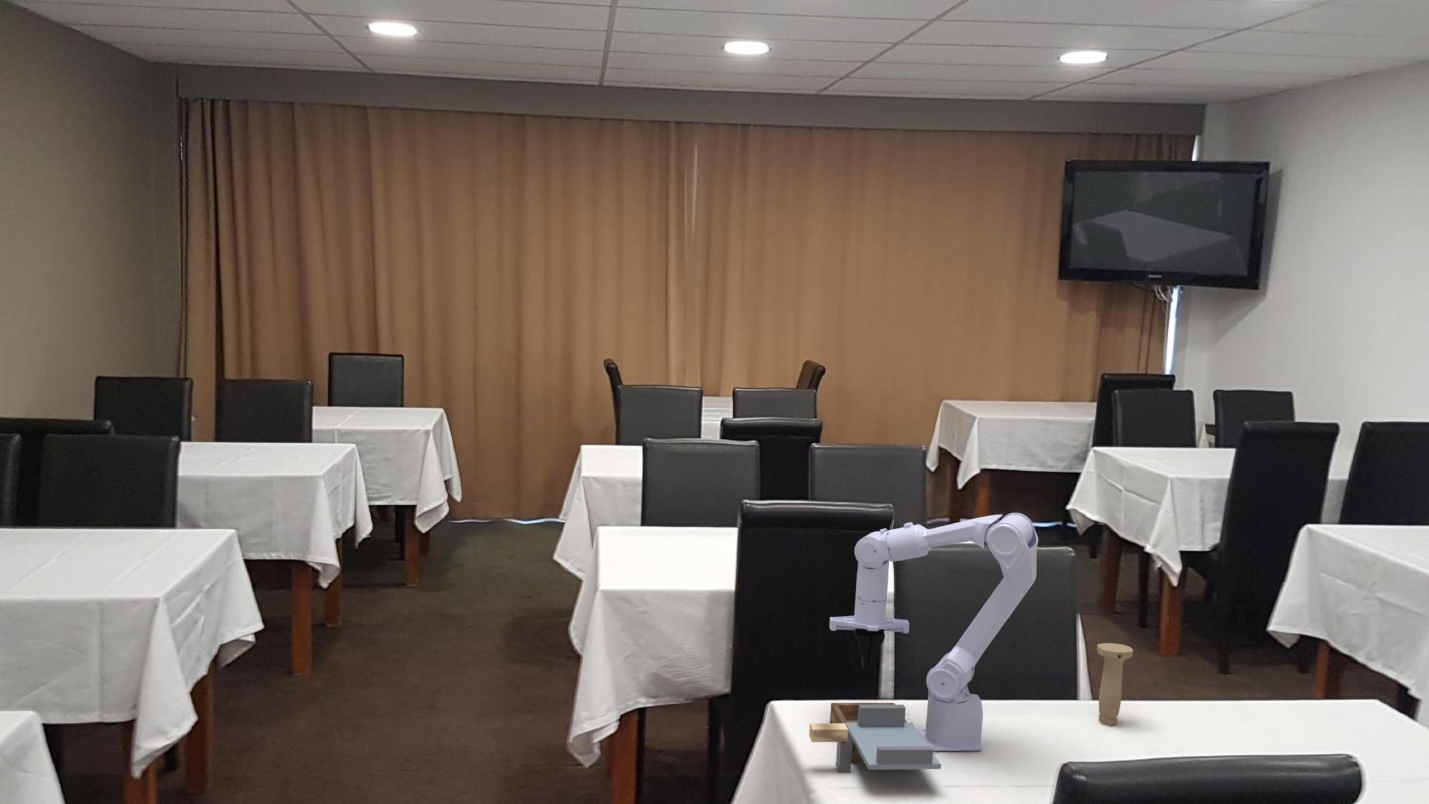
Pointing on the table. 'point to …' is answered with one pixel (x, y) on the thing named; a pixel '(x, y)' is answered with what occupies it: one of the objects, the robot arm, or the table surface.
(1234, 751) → the table surface
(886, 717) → the lid
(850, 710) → the brown wooden shallow box
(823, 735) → the tan wooden block
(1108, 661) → the handle
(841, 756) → the block
